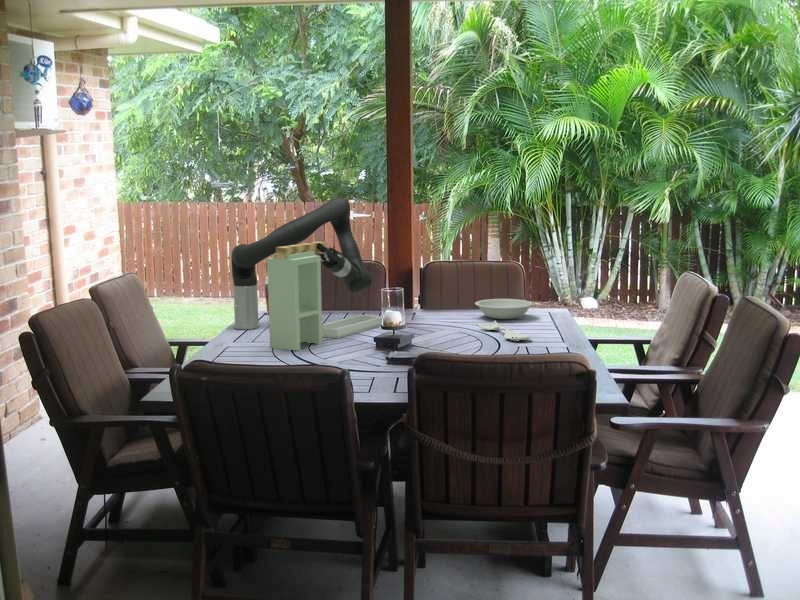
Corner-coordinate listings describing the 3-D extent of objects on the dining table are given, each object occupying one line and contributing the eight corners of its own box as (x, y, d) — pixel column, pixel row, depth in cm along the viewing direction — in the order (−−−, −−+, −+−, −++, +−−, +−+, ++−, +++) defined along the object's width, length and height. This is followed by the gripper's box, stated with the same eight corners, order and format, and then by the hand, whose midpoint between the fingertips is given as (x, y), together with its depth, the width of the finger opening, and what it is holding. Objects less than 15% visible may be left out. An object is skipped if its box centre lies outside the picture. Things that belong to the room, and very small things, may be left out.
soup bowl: (542, 316, 379) (542, 301, 378) (518, 325, 359) (518, 309, 358) (491, 312, 392) (491, 297, 391) (464, 320, 372) (464, 304, 371)
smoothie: (288, 312, 395) (286, 267, 392) (279, 315, 387) (278, 269, 384) (270, 311, 398) (269, 266, 395) (262, 315, 390) (260, 269, 387)
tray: (337, 338, 336) (337, 329, 336) (313, 336, 342) (313, 326, 341) (382, 325, 362) (382, 316, 362) (360, 323, 368) (359, 314, 367)
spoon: (495, 328, 356) (495, 319, 355) (535, 343, 326) (535, 333, 326) (474, 329, 352) (474, 321, 352) (513, 345, 323) (513, 335, 322)
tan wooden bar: (285, 259, 312) (284, 247, 312) (276, 258, 314) (275, 247, 314) (326, 252, 332) (326, 242, 332) (317, 252, 334) (317, 241, 334)
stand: (296, 351, 315) (294, 255, 310) (270, 347, 321) (267, 254, 316) (322, 343, 328) (320, 251, 322) (296, 340, 334) (293, 250, 329)
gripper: (324, 254, 347) (300, 234, 333) (355, 255, 339) (331, 236, 325) (319, 272, 345) (294, 253, 331) (349, 274, 337) (325, 255, 323)
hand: (312, 244), depth 328 cm, fingers closed on tan wooden bar, 4 cm apart
